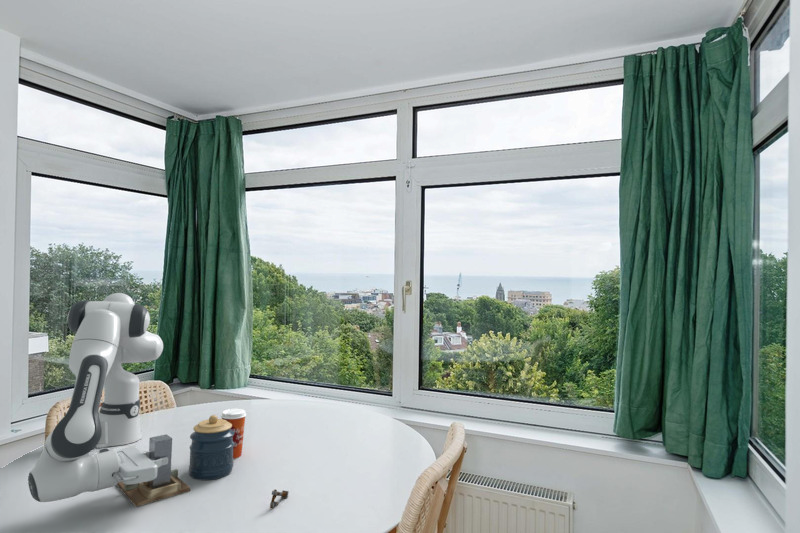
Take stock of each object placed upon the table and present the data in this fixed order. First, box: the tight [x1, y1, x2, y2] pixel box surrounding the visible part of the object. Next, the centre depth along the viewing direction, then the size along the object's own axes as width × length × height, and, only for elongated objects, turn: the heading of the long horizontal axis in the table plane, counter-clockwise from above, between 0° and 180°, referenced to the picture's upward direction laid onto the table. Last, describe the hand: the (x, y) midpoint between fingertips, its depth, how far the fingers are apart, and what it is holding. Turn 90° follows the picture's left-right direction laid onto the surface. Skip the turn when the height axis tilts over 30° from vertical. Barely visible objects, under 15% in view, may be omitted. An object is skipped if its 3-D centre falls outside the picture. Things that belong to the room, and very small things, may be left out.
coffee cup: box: [220, 408, 247, 460], centre depth 162 cm, size 8×8×15 cm
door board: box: [116, 468, 191, 507], centre depth 137 cm, size 14×20×3 cm
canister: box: [188, 414, 235, 481], centre depth 148 cm, size 13×13×18 cm
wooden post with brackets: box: [269, 489, 290, 509], centre depth 129 cm, size 2×8×4 cm, turn 166°
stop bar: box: [147, 434, 173, 489], centre depth 133 cm, size 4×4×13 cm
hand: (163, 456), depth 133 cm, fingers closed on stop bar, 4 cm apart
